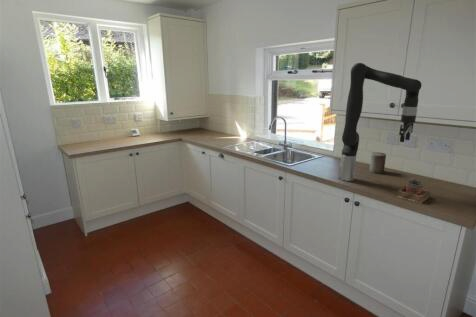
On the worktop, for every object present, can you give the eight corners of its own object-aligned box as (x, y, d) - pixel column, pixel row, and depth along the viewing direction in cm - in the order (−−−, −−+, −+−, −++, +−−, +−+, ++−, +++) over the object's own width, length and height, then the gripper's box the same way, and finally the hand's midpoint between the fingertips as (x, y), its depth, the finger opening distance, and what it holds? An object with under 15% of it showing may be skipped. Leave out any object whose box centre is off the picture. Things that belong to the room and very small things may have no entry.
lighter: (404, 194, 168) (406, 178, 165) (406, 193, 170) (408, 177, 168) (419, 198, 163) (422, 182, 160) (421, 197, 165) (424, 180, 162)
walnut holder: (396, 196, 167) (397, 190, 166) (404, 190, 175) (405, 185, 174) (421, 203, 158) (422, 197, 157) (428, 197, 166) (430, 191, 165)
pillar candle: (386, 172, 208) (389, 152, 205) (377, 174, 204) (380, 154, 201) (375, 169, 217) (377, 149, 213) (366, 170, 213) (368, 151, 209)
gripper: (406, 112, 177) (402, 138, 182) (397, 114, 168) (393, 141, 173) (420, 113, 172) (415, 140, 177) (411, 116, 163) (406, 143, 168)
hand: (404, 140), depth 175 cm, fingers open, 8 cm apart
